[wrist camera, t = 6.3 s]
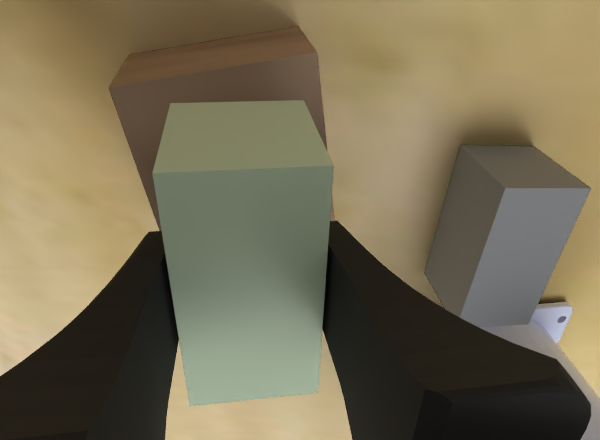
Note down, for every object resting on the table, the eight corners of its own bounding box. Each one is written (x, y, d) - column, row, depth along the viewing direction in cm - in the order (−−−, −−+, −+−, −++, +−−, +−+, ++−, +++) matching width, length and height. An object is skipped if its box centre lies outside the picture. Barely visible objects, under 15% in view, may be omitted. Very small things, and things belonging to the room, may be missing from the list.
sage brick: (297, 296, 17) (317, 392, 13) (195, 304, 16) (189, 406, 13) (303, 100, 13) (333, 165, 9) (170, 103, 12) (152, 173, 9)
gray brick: (486, 269, 25) (528, 324, 21) (423, 271, 24) (456, 328, 21) (532, 144, 21) (591, 188, 18) (458, 143, 20) (505, 188, 17)
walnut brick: (320, 211, 21) (339, 265, 18) (188, 235, 21) (183, 295, 18) (297, 24, 17) (317, 52, 14) (130, 53, 17) (108, 87, 13)
